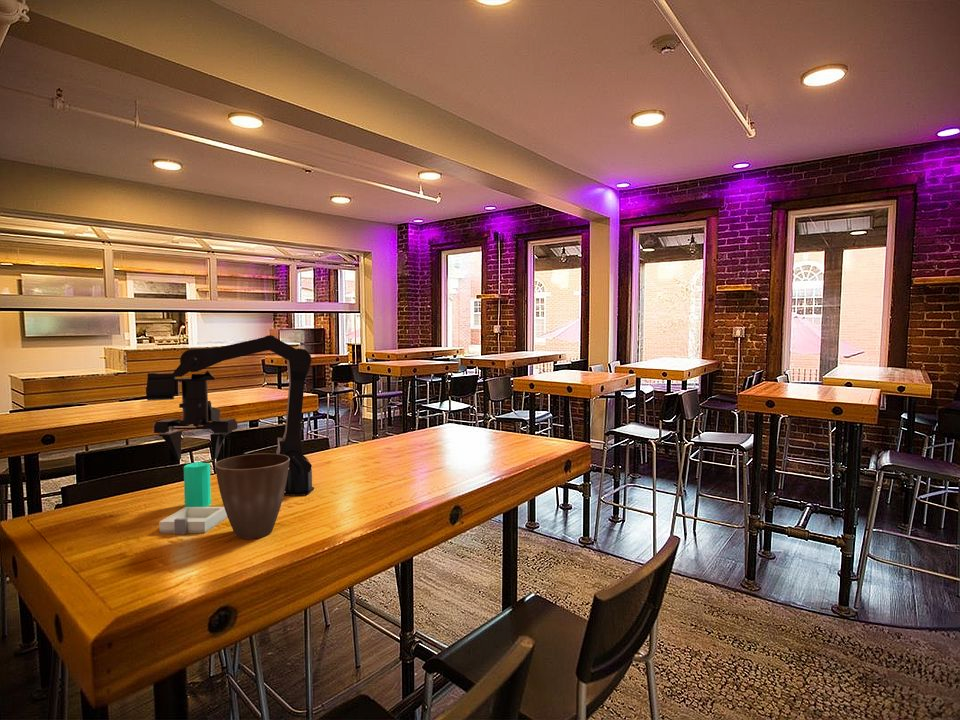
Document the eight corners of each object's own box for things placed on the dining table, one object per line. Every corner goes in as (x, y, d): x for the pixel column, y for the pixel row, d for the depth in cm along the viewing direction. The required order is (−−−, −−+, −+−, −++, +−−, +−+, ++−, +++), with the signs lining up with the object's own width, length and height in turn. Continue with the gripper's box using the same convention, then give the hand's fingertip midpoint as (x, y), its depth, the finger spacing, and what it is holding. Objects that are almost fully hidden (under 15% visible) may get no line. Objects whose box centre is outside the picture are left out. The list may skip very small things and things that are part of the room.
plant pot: (269, 516, 126) (267, 450, 125) (304, 531, 116) (303, 459, 116) (204, 535, 114) (202, 462, 114) (237, 552, 105) (235, 473, 104)
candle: (199, 509, 131) (198, 462, 130) (178, 508, 132) (177, 460, 132) (216, 502, 137) (215, 456, 136) (196, 501, 138) (195, 455, 138)
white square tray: (227, 517, 125) (227, 504, 125) (203, 534, 115) (202, 519, 114) (185, 517, 126) (185, 504, 125) (157, 534, 115) (156, 519, 115)
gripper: (246, 394, 141) (247, 452, 142) (177, 395, 142) (179, 452, 142) (225, 399, 130) (227, 462, 131) (150, 400, 130) (153, 462, 131)
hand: (197, 459), depth 134 cm, fingers open, 9 cm apart
